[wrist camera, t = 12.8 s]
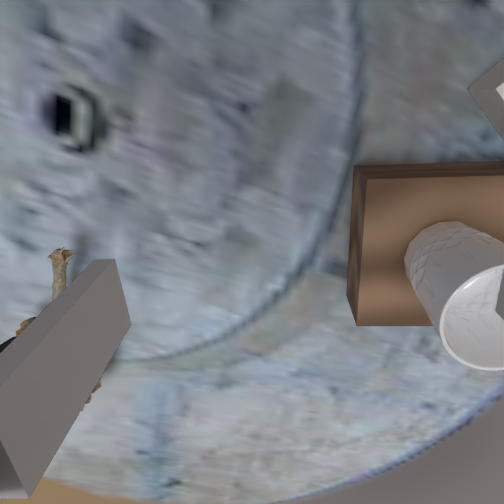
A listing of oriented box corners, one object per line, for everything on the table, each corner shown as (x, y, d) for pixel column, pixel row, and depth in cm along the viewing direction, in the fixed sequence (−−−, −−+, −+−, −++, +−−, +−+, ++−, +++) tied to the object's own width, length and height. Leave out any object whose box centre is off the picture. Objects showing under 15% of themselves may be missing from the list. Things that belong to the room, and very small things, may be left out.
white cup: (511, 234, 32) (603, 292, 23) (456, 309, 35) (519, 386, 26) (427, 198, 32) (488, 243, 22) (379, 277, 35) (416, 346, 25)
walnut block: (353, 166, 37) (367, 179, 31) (507, 161, 36) (549, 174, 30) (346, 295, 42) (356, 325, 37) (479, 294, 41) (511, 325, 36)
